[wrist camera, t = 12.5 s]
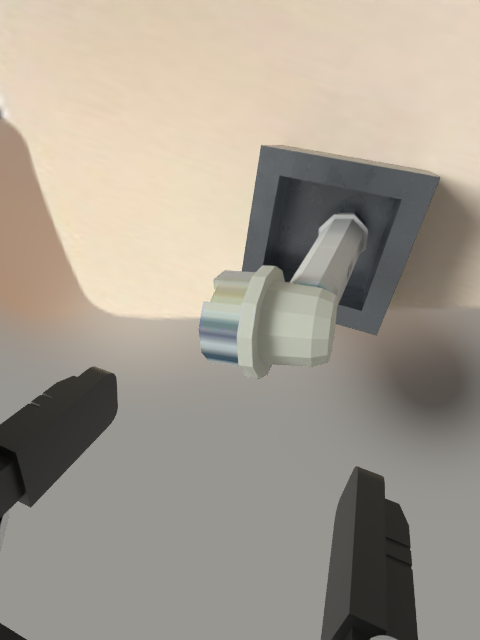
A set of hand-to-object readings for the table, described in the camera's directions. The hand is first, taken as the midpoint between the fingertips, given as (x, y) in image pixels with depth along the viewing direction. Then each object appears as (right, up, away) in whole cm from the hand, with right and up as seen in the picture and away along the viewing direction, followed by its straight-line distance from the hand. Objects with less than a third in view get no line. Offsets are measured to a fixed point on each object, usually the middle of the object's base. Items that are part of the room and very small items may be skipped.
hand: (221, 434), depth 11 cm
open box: (+10, +13, +26) cm, 31 cm away
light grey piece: (+10, +13, +25) cm, 30 cm away
